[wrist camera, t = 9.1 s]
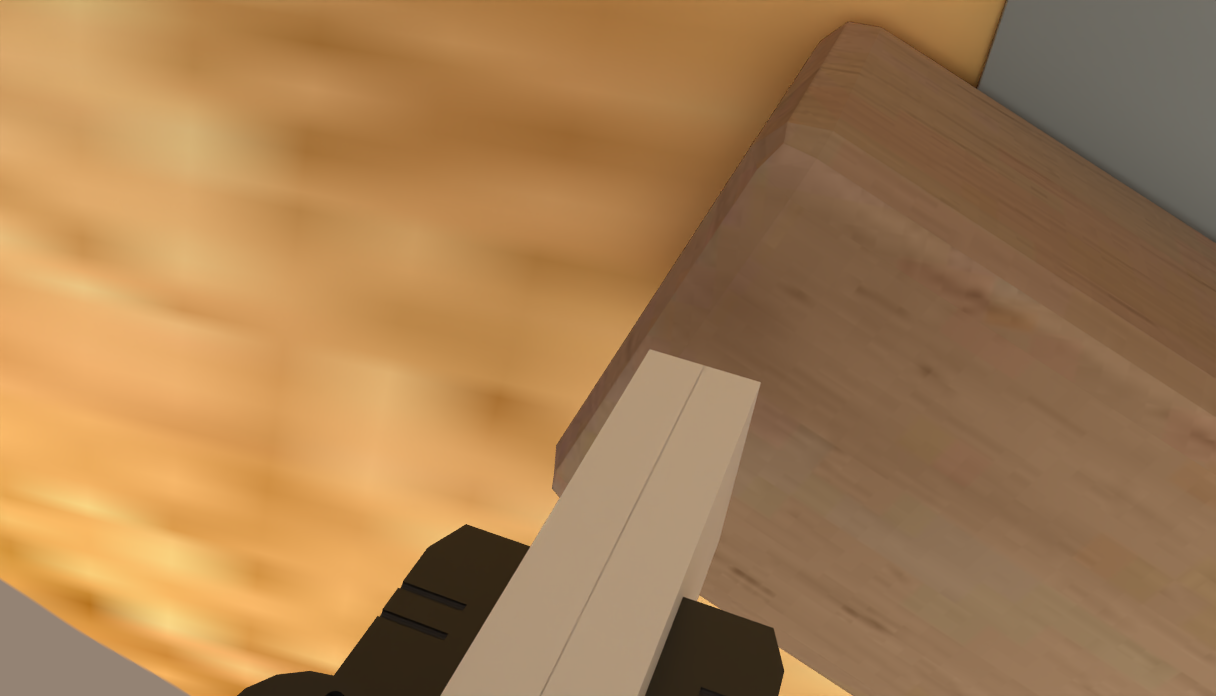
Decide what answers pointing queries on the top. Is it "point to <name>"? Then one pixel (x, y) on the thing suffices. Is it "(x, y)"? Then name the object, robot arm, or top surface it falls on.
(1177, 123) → the mat
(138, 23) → the top surface
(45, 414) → the top surface
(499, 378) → the top surface
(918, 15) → the top surface
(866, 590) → the block
